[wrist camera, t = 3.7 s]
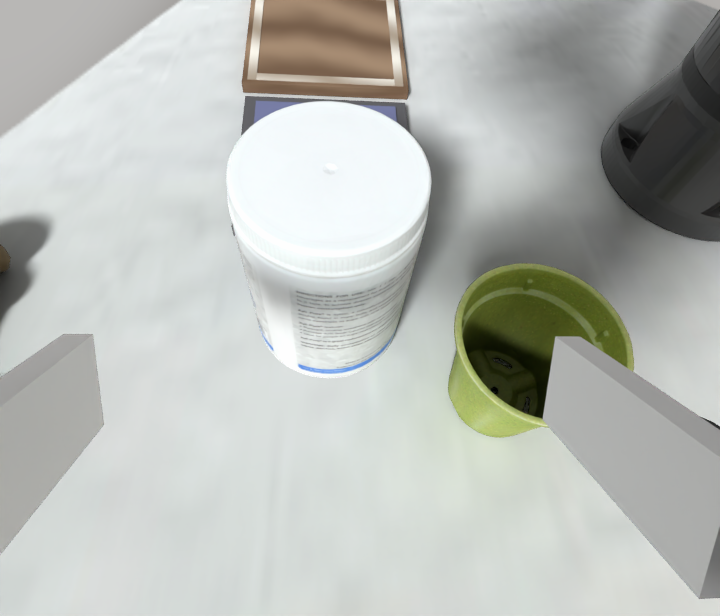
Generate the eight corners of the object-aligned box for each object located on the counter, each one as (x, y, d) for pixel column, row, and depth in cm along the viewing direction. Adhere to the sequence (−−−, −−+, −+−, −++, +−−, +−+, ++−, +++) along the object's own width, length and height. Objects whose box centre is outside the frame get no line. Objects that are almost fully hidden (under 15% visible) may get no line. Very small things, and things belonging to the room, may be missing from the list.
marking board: (406, 99, 46) (408, 89, 45) (243, 92, 45) (241, 81, 44) (395, 3, 53) (397, -7, 52) (254, -5, 52) (252, -16, 51)
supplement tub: (416, 298, 36) (472, 146, 23) (355, 409, 32) (383, 297, 19) (302, 242, 38) (295, 70, 25) (229, 341, 34) (176, 195, 21)
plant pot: (446, 310, 36) (481, 239, 29) (572, 358, 35) (644, 298, 27) (403, 428, 32) (431, 381, 24) (546, 487, 31) (622, 458, 23)
